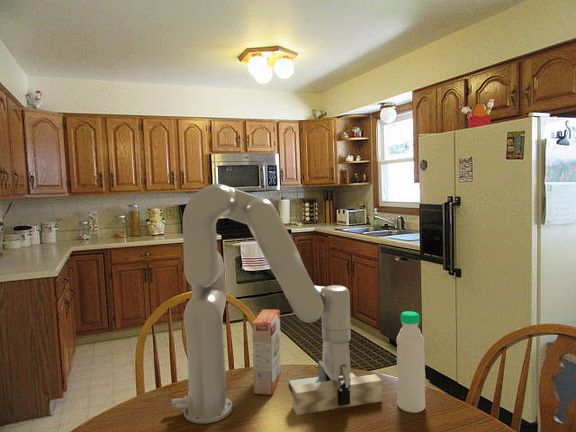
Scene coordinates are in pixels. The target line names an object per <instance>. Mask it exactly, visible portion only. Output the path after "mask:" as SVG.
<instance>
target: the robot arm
mask: <svg viewBox="0 0 576 432" xmlns="http://www.w3.org/2000/svg"><path fill="white" fill-rule="evenodd" d="M279 214H280V213H278V211H277V209H276V207H275V205H274V204H273V203H272V202H271V201H270V200H269V199H267V198H264V197H260V196H257V195H253V194H251V193H248V192H245V191H243V190H239V189H236V188H235V187H232V186H229V185H226V184H223V183H222V184H221V183H213V184H209V185H207V186H205V187H203V188H202V189H200V190H198V191H196V193H195V194H193V196H191V197H190V198H189V200H188V201H187V202H186V205H185V208H184V211H183V215H182V239H183V241H182V242H183V244H182V247H183V265H184V266H183V271H184V272H183V273H184V276H185V280H186V281H187V283H188V284H189V285H190V287H191V289H190V290H191V297H190V298H189V300H188V302H187V303H186V305H185V308H184V313H183V323H184V331H185V337H186V338H185V339H186V354H187V355H186V356H187V372H188V374H187V375H188V376H187V379H188V392H187V395H184V396H183V397H180V398H179V397H177V398H172V399H171V408H173V407H175V410H176V411H180V410H183V416H184V418H185V419H186V420H187V421H189V422H191V423H194V424H201V425H202V424H212V423H216V422H219V421H221V420H223V419H225V418H227V417H228V416H229V415H230V414H231V413H232V411H233V402H232V401H231V400H230V399H229V398H227V385H226V383H227V382H226V380H227V379H226V359H225V356H226V355H225V339H224V338H225V337H224V326H223V323H224V322H223V321H224V320H223V315H224V311H225V308H226V304H227V294H226V282H225V281H226V279H225V278H226V276H225V263H224V259H223V256H222V255H221V253H220V252H219V251H218V239H217V223H218V220H219V219H221V217H224V218H227V219H229V220H232V221H235V222H239V223H241V224H244V225H247V227H248V230H249V231H250V233H251V235H252V236H253V238H254V240H255V242H256V243H257V245H258V247H259V249H260V251H261V253H262V255H263V257H264V259H265V260H266V262H267V264H268V266H269V268H270V270H271V272H272V273H273V275H274V277H275V279H276V280H277V282H278V284H279V286H280V288H281V290H282V292H283V293H284V296H285V298H286V300H287V301H288V303H289V305H290V307H291V309H292V310H293V312H294V314H295V316H296V317H297V318H298V319H299V320H300V321H301V322H304V323H314V322H317V321H318V320H320V319H321V339H322V360H321V361H322V366H323V369H324V371H325V372H326V373H327V374H326V381H335V380H337V384H338V388H339V390H337V397H338V405H339V406H342V405H349V404H350V386H351V385H350V382H351V379H350V373H351V357H350V347H349V344H350V343H349V342H350V340H351V339H352V338H351V303H350V302H351V296H350V290H349V289H348V288H347V287H346V286H345V285H344V286H343V285H337V284H336V285H335V284H334V285H328V286H321V285H320V286H319V285H314V282H313V281H312V280H313V279H311V276H310V275H309V273H308V271H307V269H306V267H305V265H304V263H303V260H302V257H301V255H300V252H299V250H298V248H297V246H296V244H295V242H294V240H293V238H292V236H291V235H290V233H289V230H287V227H286V225H285V224H284V221H283V220H282V218H281V215H279ZM339 376H343V377H341V378H339ZM340 381H344V383H343V384H342V385H341V382H340Z"/></svg>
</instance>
